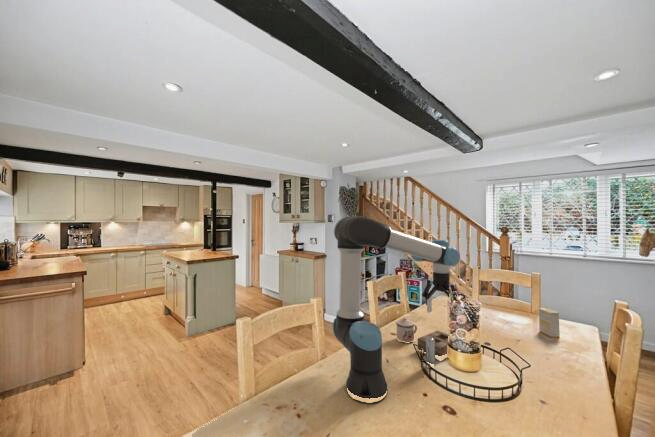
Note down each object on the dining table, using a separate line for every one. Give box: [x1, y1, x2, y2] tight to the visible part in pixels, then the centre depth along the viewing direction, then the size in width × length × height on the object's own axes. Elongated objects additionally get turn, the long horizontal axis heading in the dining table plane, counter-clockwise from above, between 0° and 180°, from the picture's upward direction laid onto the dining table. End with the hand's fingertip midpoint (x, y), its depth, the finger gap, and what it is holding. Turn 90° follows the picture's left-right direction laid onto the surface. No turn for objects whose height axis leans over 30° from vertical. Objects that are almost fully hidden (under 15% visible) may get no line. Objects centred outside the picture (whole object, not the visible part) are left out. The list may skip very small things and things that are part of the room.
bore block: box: [417, 330, 450, 356], centre depth 126 cm, size 16×12×6 cm
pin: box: [425, 337, 436, 364], centre depth 113 cm, size 3×3×12 cm
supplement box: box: [538, 307, 560, 338], centre depth 143 cm, size 8×5×13 cm, turn 179°
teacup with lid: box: [395, 316, 418, 342], centre depth 139 cm, size 12×9×12 cm
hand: (441, 315), depth 127 cm, fingers open, 13 cm apart
